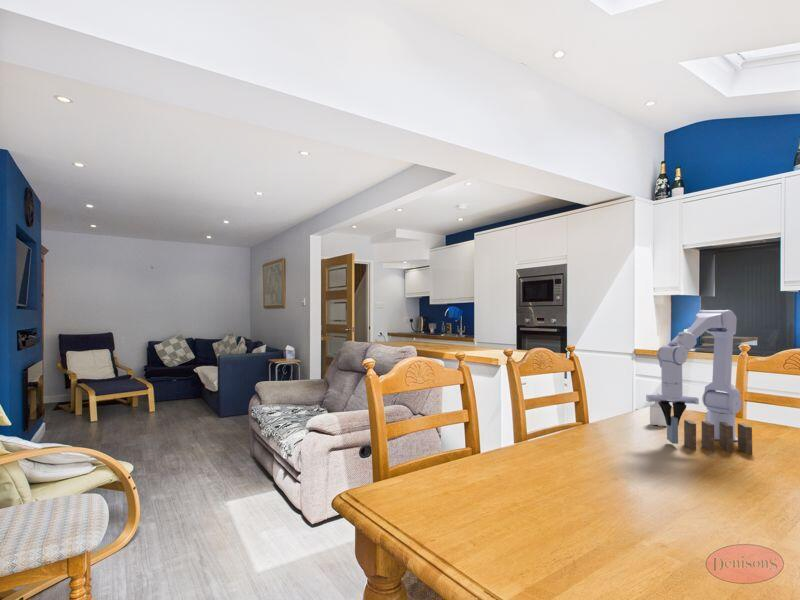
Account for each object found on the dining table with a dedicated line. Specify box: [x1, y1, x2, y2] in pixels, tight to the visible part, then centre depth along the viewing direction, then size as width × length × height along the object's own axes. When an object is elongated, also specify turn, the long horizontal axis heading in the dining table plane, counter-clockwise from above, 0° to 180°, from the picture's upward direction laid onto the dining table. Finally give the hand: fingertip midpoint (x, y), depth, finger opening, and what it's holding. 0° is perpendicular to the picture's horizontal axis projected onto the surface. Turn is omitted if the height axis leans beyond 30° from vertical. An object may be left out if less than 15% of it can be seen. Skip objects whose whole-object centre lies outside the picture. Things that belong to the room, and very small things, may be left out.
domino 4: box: [719, 422, 734, 453], centre depth 134 cm, size 2×5×8 cm, turn 166°
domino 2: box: [683, 419, 697, 450], centre depth 137 cm, size 2×5×8 cm, turn 165°
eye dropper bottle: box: [649, 393, 667, 427], centre depth 163 cm, size 4×6×12 cm
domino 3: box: [701, 420, 716, 452], centre depth 136 cm, size 2×5×8 cm, turn 166°
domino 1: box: [666, 414, 679, 445], centre depth 138 cm, size 2×5×8 cm, turn 165°
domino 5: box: [737, 422, 753, 455], centre depth 133 cm, size 2×5×8 cm, turn 165°
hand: (672, 425), depth 138 cm, fingers closed on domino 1, 1 cm apart
